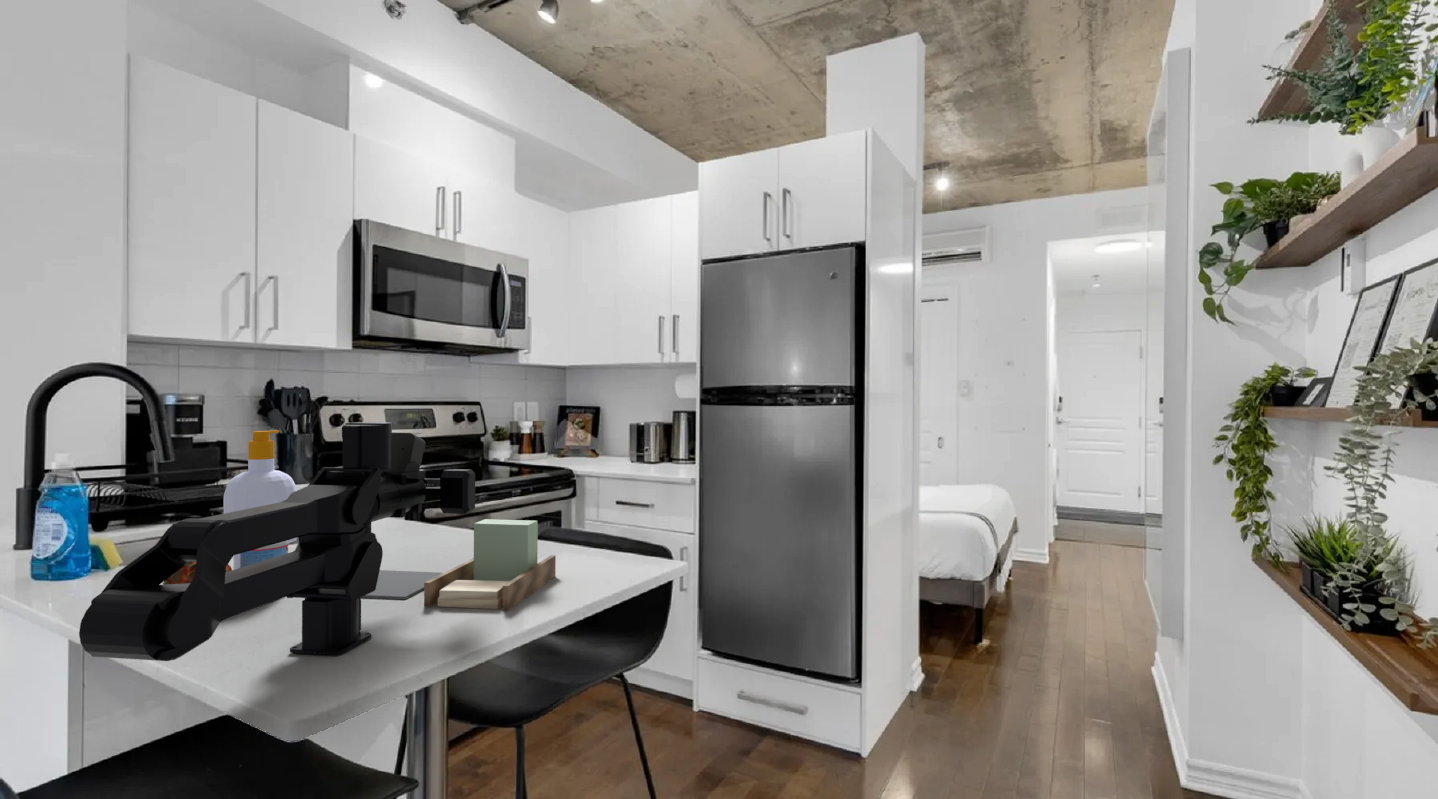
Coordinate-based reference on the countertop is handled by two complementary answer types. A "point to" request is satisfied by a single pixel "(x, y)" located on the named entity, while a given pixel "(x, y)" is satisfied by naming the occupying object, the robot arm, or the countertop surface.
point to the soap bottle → (258, 481)
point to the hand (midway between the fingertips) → (440, 483)
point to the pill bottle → (263, 553)
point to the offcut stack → (472, 594)
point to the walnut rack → (511, 590)
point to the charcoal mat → (400, 584)
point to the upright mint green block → (504, 548)
